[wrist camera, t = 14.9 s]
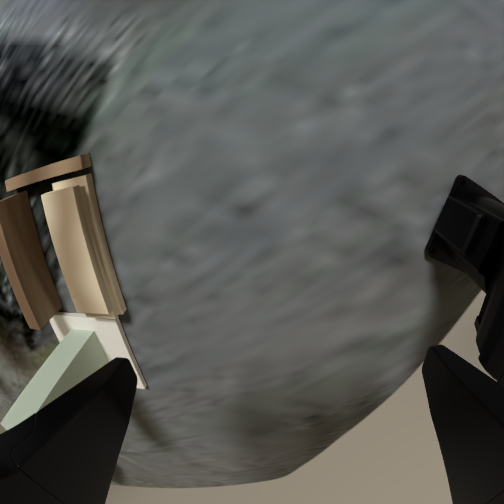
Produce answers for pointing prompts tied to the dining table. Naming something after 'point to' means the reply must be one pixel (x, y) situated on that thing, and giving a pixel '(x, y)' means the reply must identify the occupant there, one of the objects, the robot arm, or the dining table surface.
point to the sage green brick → (58, 374)
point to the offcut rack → (59, 246)
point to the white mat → (99, 336)
